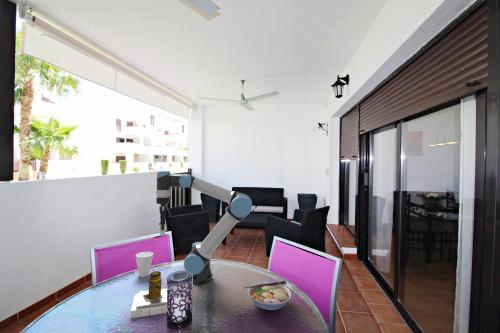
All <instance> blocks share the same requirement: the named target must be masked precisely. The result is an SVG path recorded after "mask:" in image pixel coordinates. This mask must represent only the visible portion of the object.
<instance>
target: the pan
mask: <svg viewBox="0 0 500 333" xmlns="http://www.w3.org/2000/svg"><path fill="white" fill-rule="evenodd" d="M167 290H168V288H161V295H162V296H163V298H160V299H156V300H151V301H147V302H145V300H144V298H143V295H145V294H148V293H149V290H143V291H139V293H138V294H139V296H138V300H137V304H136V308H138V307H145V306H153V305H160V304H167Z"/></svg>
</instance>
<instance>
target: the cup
mask: <svg viewBox="0 0 500 333" xmlns="http://www.w3.org/2000/svg"><path fill="white" fill-rule="evenodd" d="M153 257H154V252H151V251H141V252H138V253H136V254H135V261H136V266H137V270H138V276H139V277H141V278H144V277H148V276H150V270H151V266H152V263H153V262H152V261H153Z"/></svg>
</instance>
